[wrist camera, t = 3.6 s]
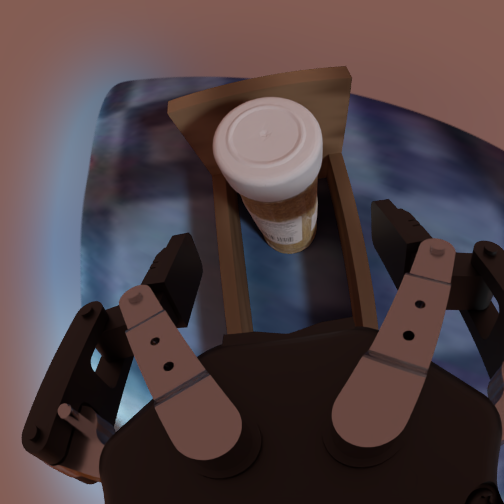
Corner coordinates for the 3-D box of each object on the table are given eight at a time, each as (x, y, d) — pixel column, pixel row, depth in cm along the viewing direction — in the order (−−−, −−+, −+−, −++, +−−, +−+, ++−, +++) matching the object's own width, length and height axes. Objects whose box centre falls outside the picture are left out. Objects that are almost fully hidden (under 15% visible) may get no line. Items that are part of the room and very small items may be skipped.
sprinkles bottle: (327, 222, 23) (344, 121, 10) (294, 266, 23) (277, 207, 10) (282, 192, 24) (254, 80, 11) (250, 234, 24) (187, 150, 11)
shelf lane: (334, 166, 24) (346, 66, 12) (371, 386, 19) (425, 449, 8) (225, 185, 25) (168, 101, 14) (250, 402, 21) (198, 474, 10)
